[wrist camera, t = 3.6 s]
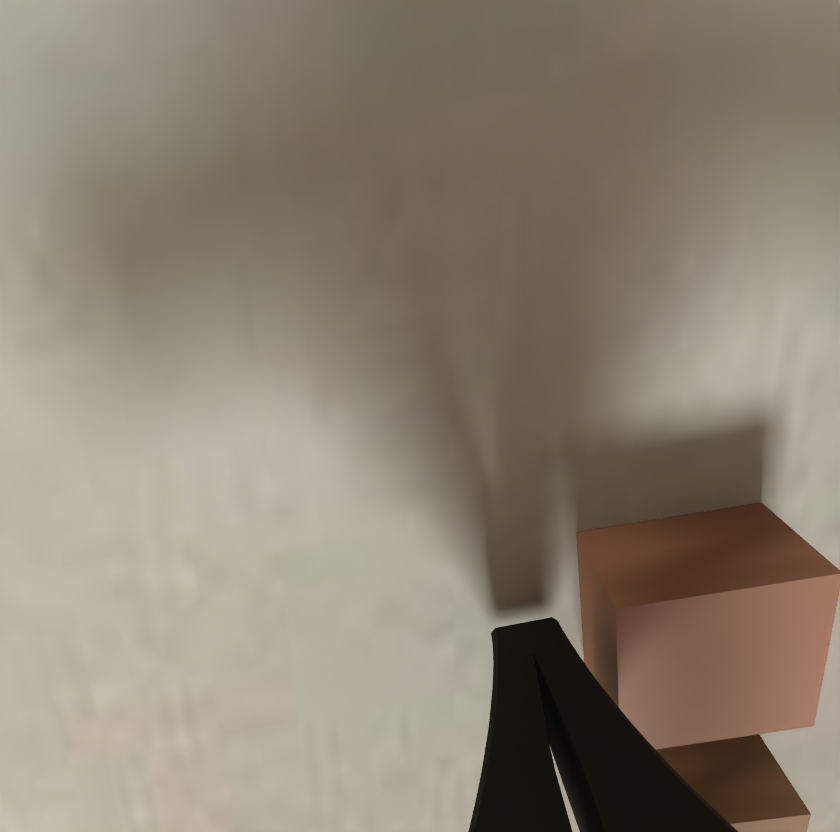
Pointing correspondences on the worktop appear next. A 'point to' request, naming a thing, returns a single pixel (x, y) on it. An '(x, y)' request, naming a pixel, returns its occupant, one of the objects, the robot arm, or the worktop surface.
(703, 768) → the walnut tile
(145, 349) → the worktop surface
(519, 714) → the robot arm
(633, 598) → the cherry tile
